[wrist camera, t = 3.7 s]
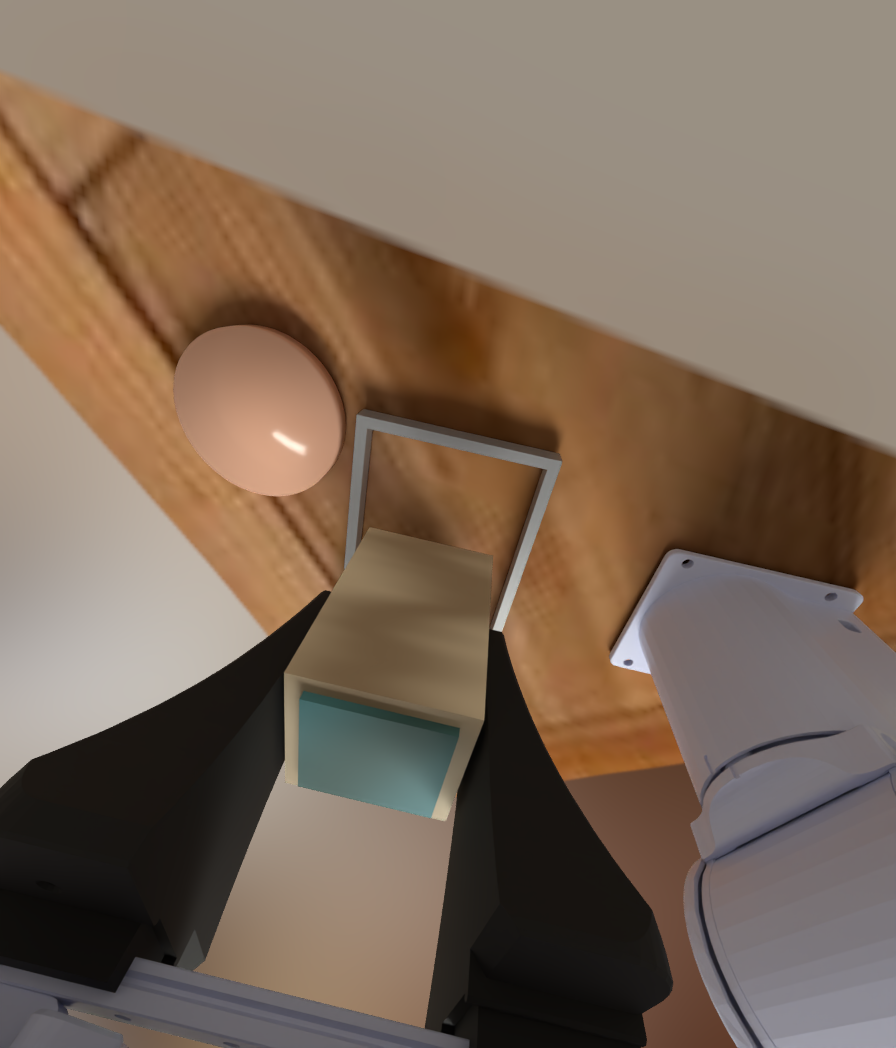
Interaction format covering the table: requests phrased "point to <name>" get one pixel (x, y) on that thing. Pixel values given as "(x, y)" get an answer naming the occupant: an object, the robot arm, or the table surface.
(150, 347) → the table surface
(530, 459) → the open rectangular frame
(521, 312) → the table surface
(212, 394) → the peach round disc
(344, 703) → the tan and teal block
